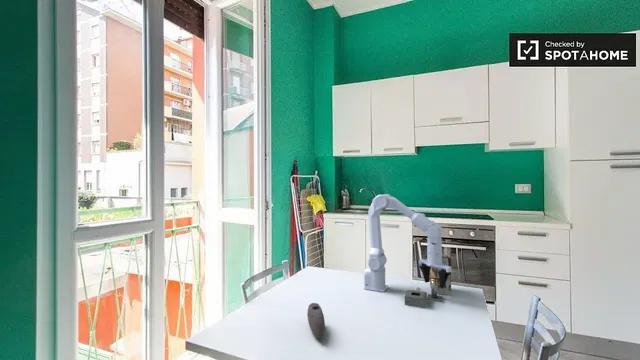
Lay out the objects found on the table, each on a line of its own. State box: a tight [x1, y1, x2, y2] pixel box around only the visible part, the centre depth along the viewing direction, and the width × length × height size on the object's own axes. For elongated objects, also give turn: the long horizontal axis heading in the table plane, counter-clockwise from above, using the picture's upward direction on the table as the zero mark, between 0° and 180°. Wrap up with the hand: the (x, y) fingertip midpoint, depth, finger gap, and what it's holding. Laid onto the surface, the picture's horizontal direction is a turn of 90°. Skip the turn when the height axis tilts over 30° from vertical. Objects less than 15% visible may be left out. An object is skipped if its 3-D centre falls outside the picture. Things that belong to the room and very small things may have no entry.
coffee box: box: [429, 252, 452, 295], centre depth 130 cm, size 9×6×16 cm
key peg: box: [430, 278, 438, 299], centre depth 121 cm, size 2×2×8 cm
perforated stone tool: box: [306, 302, 326, 340], centre depth 94 cm, size 15×5×7 cm, turn 8°
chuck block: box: [404, 286, 428, 309], centre depth 120 cm, size 8×15×4 cm, turn 156°
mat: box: [427, 293, 444, 303], centre depth 121 cm, size 6×6×1 cm
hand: (434, 284), depth 121 cm, fingers open, 7 cm apart
